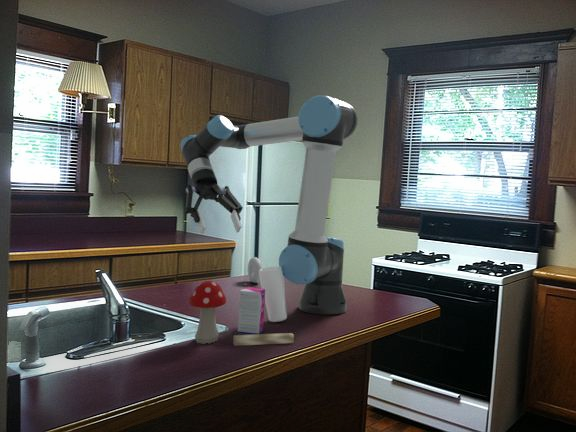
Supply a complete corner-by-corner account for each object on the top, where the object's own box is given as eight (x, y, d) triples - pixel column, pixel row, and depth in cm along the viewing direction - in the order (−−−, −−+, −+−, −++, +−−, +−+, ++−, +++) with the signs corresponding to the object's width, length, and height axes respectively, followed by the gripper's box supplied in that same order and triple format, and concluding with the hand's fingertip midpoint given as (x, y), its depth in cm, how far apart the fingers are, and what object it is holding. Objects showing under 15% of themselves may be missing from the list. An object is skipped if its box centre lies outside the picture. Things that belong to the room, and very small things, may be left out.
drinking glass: (275, 316, 168) (268, 266, 167) (294, 317, 164) (286, 265, 163) (261, 323, 162) (253, 271, 162) (280, 323, 158) (272, 270, 158)
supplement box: (258, 335, 148) (260, 292, 147) (236, 333, 149) (238, 290, 149) (264, 330, 154) (265, 288, 153) (243, 328, 155) (244, 286, 154)
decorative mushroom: (209, 348, 136) (210, 286, 135) (180, 342, 140) (182, 281, 139) (232, 338, 145) (234, 280, 144) (204, 333, 149) (206, 276, 148)
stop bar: (291, 340, 145) (291, 332, 145) (293, 342, 143) (293, 335, 143) (233, 343, 141) (233, 335, 141) (234, 345, 139) (234, 337, 139)
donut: (246, 280, 224) (246, 255, 223) (254, 280, 226) (255, 255, 225) (254, 285, 215) (255, 259, 214) (263, 285, 216) (264, 259, 216)
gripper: (232, 184, 188) (252, 236, 176) (164, 182, 176) (180, 238, 164) (239, 168, 183) (260, 221, 171) (170, 165, 171) (187, 222, 159)
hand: (221, 229), depth 168 cm, fingers open, 11 cm apart
